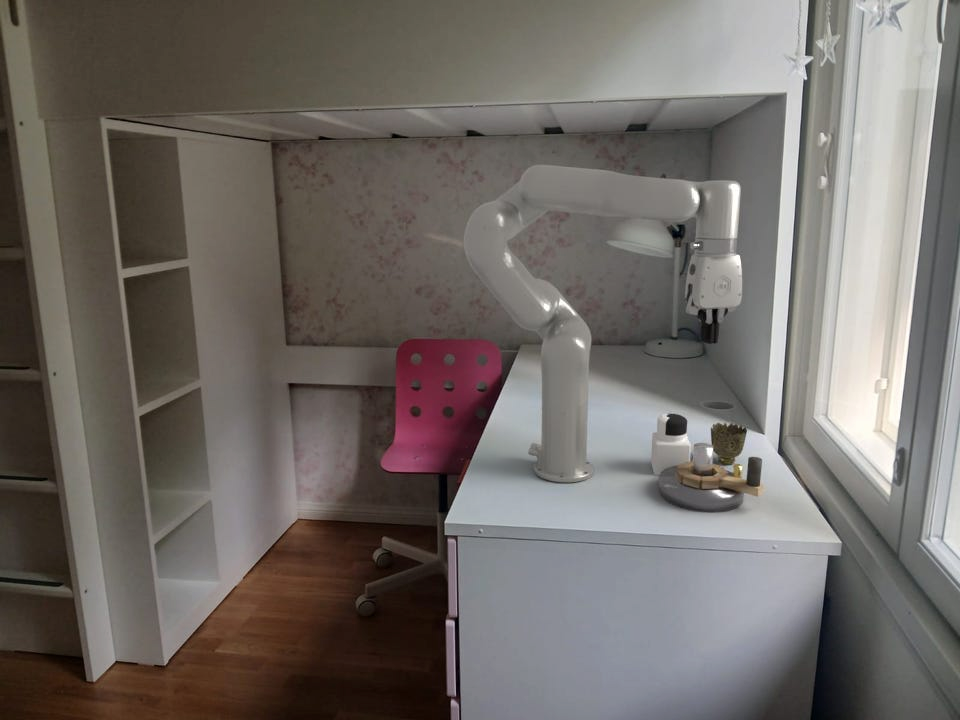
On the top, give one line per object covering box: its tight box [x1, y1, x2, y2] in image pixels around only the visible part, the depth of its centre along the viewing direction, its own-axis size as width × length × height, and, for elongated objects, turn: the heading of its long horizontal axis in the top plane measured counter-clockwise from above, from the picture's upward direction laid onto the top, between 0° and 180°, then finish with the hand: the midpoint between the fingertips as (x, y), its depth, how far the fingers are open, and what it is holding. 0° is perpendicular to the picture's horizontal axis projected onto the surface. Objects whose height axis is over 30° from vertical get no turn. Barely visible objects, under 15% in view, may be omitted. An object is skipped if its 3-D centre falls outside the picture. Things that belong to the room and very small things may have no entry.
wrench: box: [675, 456, 764, 498], centre depth 138 cm, size 16×10×7 cm, turn 49°
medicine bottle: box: [650, 413, 692, 476], centre depth 153 cm, size 7×7×12 cm
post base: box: [658, 442, 745, 513], centre depth 141 cm, size 16×16×10 cm
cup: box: [710, 422, 748, 466], centre depth 157 cm, size 8×7×8 cm
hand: (709, 342), depth 141 cm, fingers closed
